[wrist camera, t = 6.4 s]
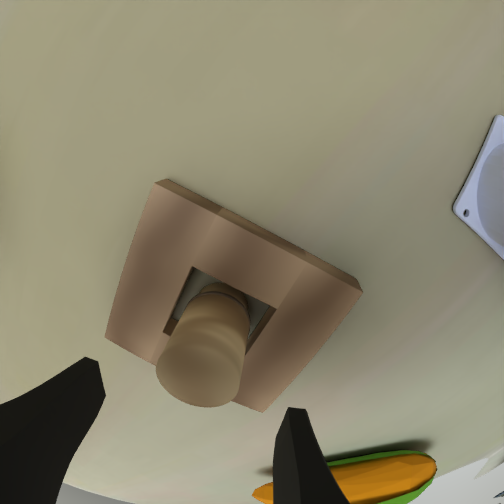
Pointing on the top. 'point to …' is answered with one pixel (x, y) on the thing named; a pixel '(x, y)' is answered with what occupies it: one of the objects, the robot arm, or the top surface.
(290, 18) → the top surface
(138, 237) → the board
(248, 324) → the peg
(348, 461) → the corn
